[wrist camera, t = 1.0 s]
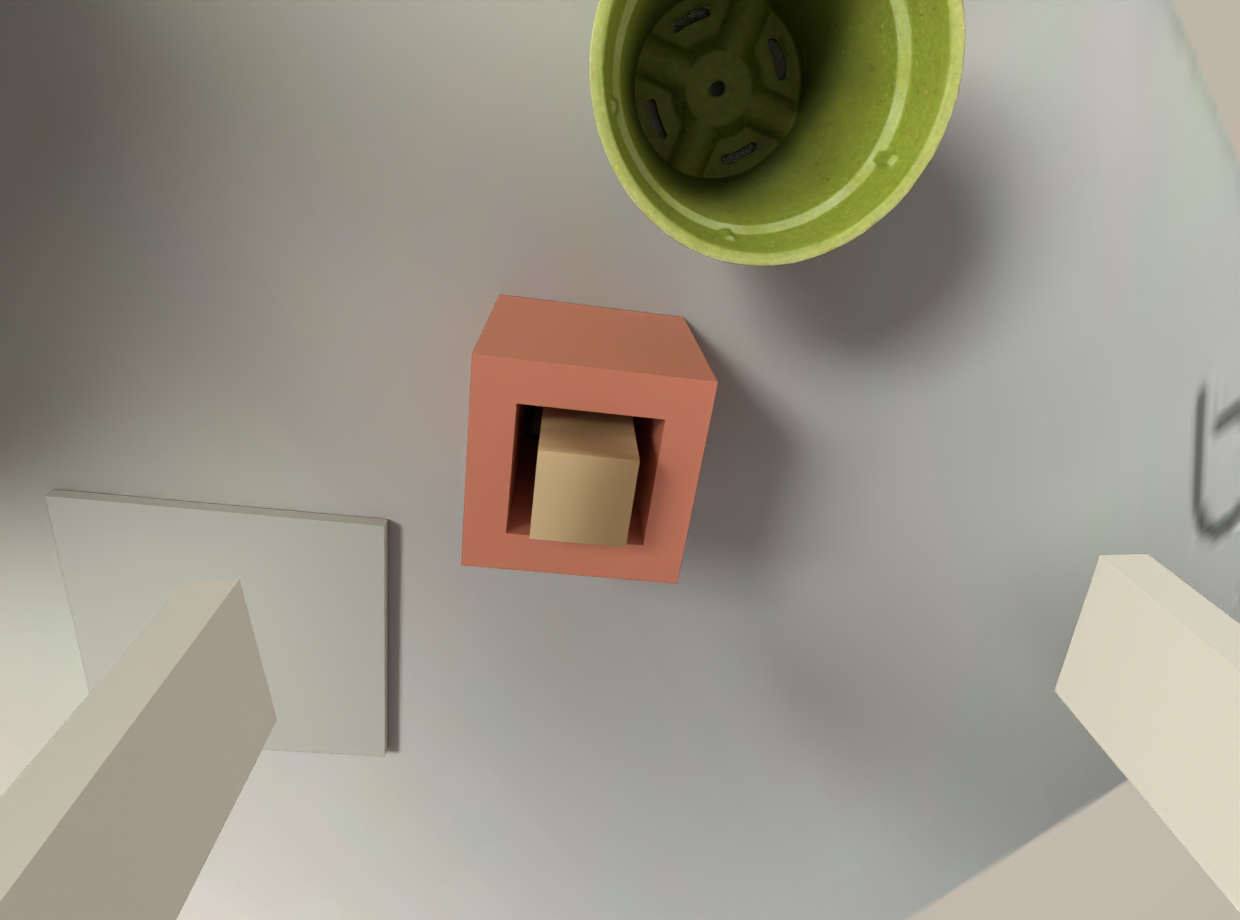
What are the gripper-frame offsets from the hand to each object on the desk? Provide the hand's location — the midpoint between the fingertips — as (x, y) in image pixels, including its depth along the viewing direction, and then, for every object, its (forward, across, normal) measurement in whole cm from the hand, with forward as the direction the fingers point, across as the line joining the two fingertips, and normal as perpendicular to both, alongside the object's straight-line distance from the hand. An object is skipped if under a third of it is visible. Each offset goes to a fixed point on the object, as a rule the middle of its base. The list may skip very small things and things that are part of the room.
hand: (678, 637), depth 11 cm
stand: (+20, -2, -3) cm, 20 cm away
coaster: (+20, -18, -15) cm, 31 cm away
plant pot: (+20, +4, +8) cm, 22 cm away
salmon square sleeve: (+20, -2, -3) cm, 20 cm away
